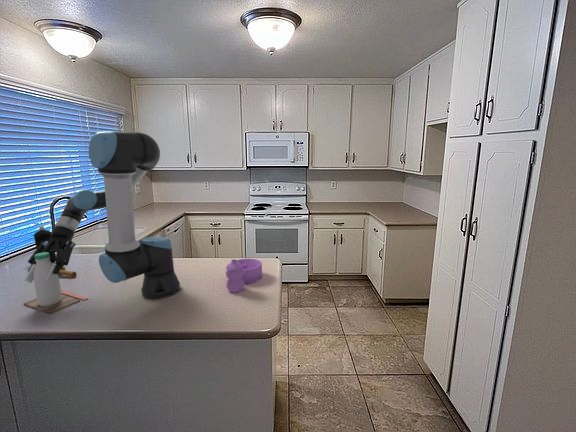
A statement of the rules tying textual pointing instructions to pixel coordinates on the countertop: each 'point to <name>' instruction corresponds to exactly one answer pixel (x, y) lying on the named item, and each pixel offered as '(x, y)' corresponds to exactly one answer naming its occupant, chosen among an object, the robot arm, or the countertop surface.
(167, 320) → the countertop surface
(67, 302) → the board
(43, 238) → the aerosol can
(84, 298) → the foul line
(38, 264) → the milk bottle
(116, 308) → the countertop surface
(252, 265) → the container set
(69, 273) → the kendama
